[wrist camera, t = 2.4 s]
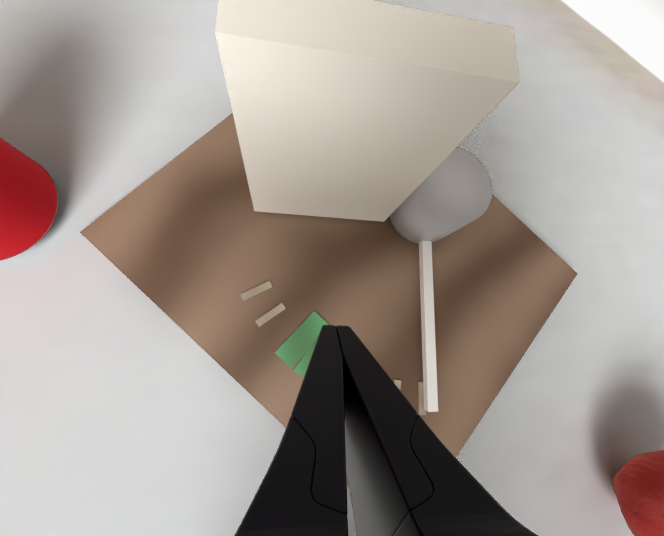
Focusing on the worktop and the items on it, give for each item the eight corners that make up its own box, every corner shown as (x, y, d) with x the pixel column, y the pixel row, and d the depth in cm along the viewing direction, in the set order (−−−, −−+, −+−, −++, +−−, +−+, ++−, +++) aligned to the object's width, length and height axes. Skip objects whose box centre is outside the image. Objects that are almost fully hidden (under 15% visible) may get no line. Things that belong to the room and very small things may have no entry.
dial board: (569, 274, 22) (578, 273, 22) (398, 531, 17) (403, 539, 17) (324, 47, 22) (326, 39, 22) (86, 235, 18) (78, 231, 17)
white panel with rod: (450, 183, 21) (642, 19, 10) (462, 408, 18) (749, 532, 7) (257, 163, 19) (226, -70, 8) (238, 411, 16) (149, 592, 5)
